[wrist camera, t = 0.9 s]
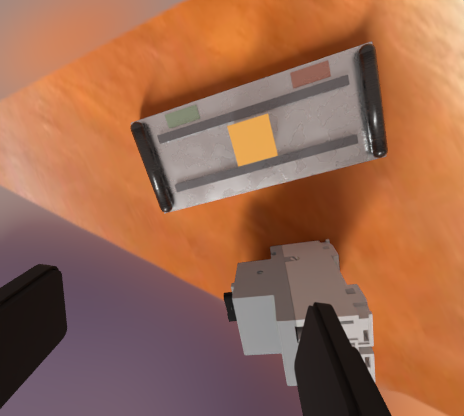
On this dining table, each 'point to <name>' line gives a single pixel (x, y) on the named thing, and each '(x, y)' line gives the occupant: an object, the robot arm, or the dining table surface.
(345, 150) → the panel
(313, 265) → the circuit breaker
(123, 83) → the dining table surface
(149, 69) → the dining table surface
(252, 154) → the toggle
